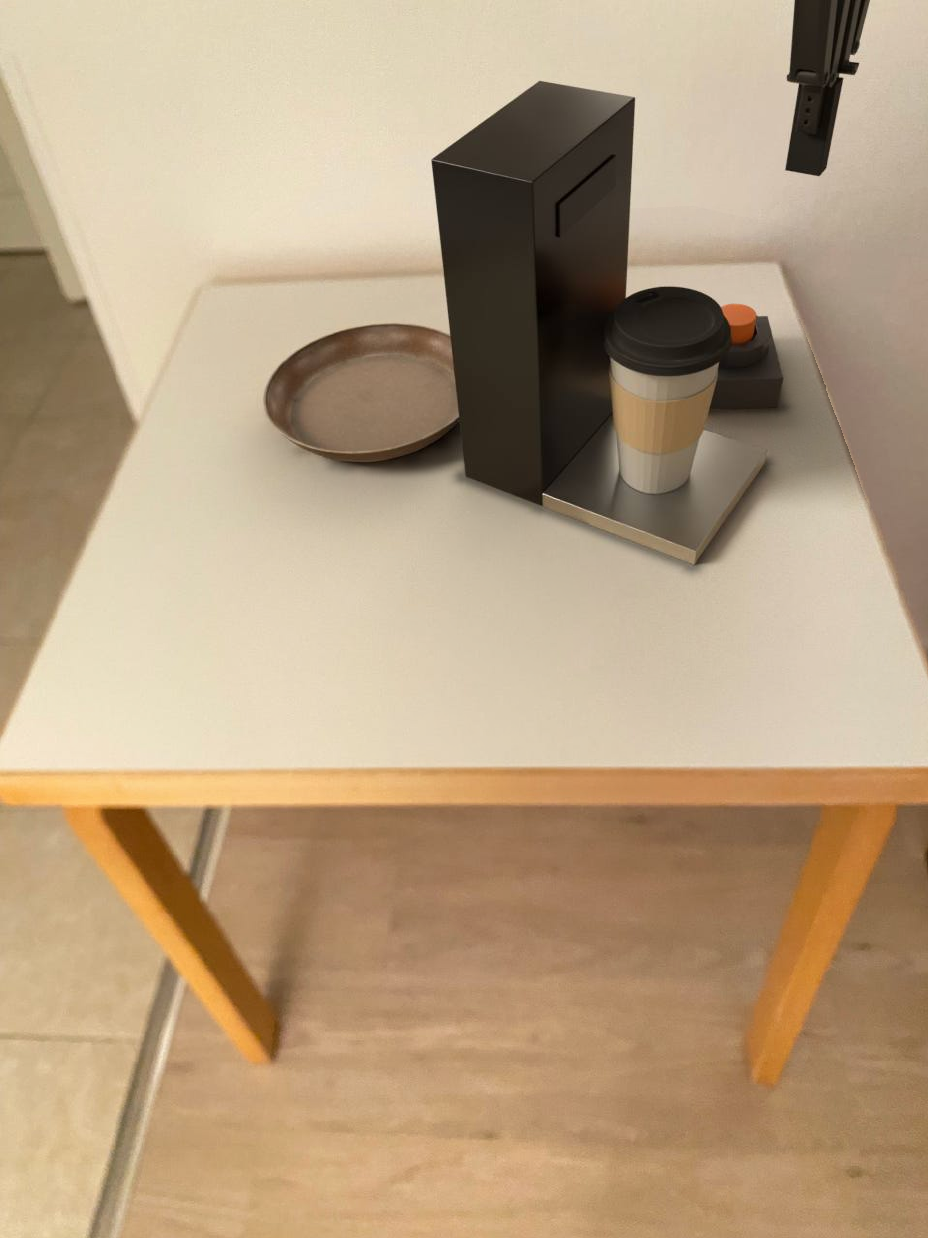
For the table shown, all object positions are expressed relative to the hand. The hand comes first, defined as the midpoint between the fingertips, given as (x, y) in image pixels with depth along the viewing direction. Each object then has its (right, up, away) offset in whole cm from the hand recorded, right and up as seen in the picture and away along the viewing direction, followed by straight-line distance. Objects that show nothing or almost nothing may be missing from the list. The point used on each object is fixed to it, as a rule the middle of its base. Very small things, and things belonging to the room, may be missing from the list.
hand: (805, 168), depth 75 cm
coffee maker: (-13, -22, +10) cm, 27 cm away
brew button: (-2, -9, +14) cm, 16 cm away
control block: (-1, -12, +17) cm, 21 cm away
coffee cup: (-10, -22, +7) cm, 26 cm away
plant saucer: (-35, -15, +19) cm, 42 cm away
